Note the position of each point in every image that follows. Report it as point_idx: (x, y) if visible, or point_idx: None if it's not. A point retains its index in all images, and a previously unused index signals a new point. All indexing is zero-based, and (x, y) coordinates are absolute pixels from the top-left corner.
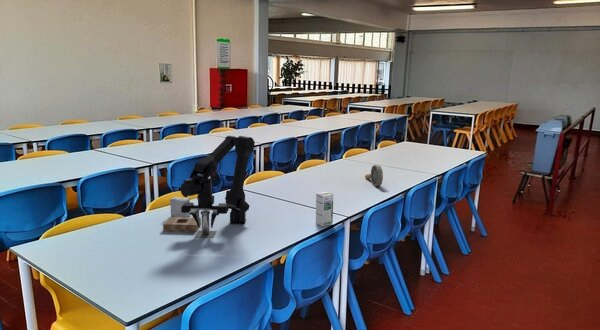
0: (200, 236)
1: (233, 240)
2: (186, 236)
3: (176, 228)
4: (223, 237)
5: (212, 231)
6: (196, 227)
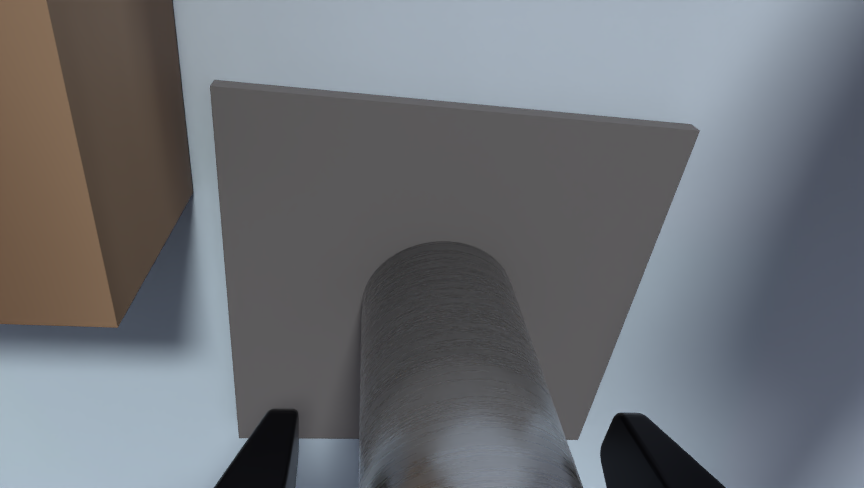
0: (347, 395)
1: (848, 455)
2: (54, 362)
3: None
4: (742, 378)
5: (586, 162)
6: (147, 222)
